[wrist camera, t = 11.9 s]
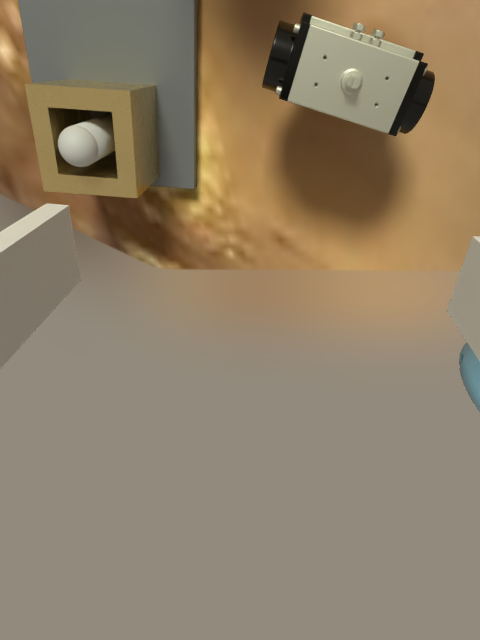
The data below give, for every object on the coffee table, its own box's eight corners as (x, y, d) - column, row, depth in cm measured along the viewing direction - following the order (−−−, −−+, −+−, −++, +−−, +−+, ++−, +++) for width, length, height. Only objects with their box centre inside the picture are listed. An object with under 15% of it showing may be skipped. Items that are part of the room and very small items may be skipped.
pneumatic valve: (383, 123, 41) (418, 145, 30) (264, 84, 40) (258, 93, 29) (411, 56, 38) (460, 56, 27) (283, 12, 37) (285, -5, 27)
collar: (155, 85, 39) (129, 90, 32) (159, 176, 43) (137, 198, 36) (68, 79, 39) (24, 83, 32) (80, 170, 43) (43, 191, 37)
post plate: (197, -105, 33) (161, -176, 23) (196, 185, 45) (172, 222, 35) (7, -114, 34) (-110, -188, 24) (54, 174, 45) (-11, 208, 35)
